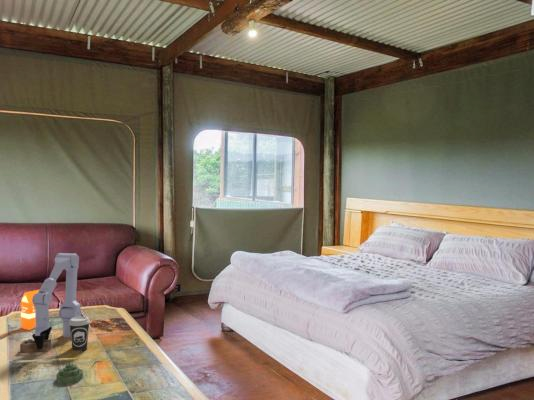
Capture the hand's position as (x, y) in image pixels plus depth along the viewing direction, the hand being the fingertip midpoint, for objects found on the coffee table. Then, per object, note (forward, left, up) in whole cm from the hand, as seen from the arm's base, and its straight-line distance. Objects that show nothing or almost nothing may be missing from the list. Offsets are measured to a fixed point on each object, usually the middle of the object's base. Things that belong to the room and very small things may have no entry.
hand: (42, 346), depth 223 cm
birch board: (+3, -4, -3) cm, 6 cm away
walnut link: (+3, 0, -2) cm, 3 cm away
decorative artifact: (-20, +33, -3) cm, 39 cm away
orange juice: (+18, -42, -3) cm, 46 cm away
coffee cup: (-16, -1, -3) cm, 17 cm away
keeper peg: (+6, 0, -3) cm, 6 cm away
